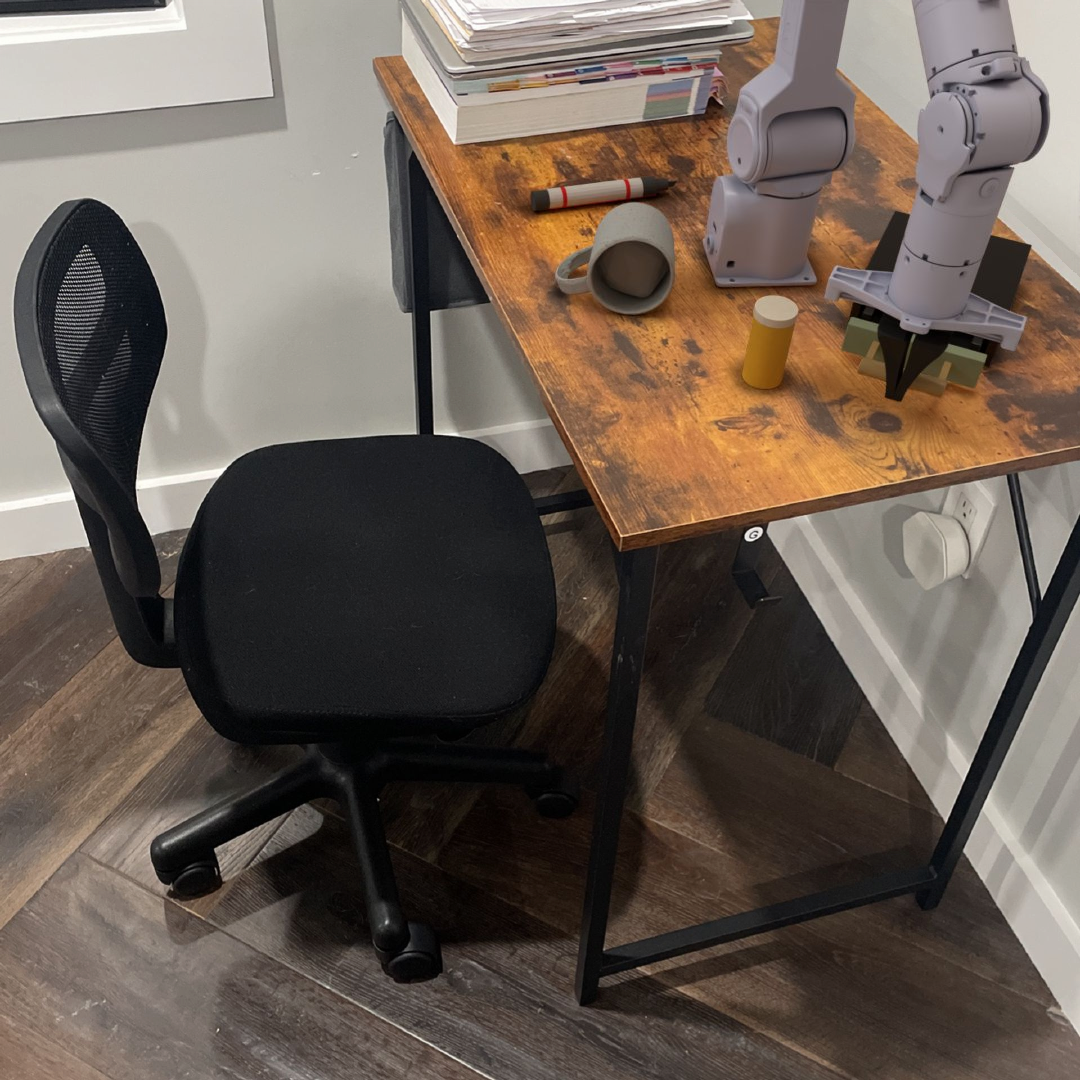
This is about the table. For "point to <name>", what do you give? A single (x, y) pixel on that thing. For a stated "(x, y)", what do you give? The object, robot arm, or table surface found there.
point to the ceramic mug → (625, 261)
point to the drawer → (953, 365)
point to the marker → (598, 192)
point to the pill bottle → (769, 341)
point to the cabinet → (991, 280)
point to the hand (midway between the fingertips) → (895, 393)
